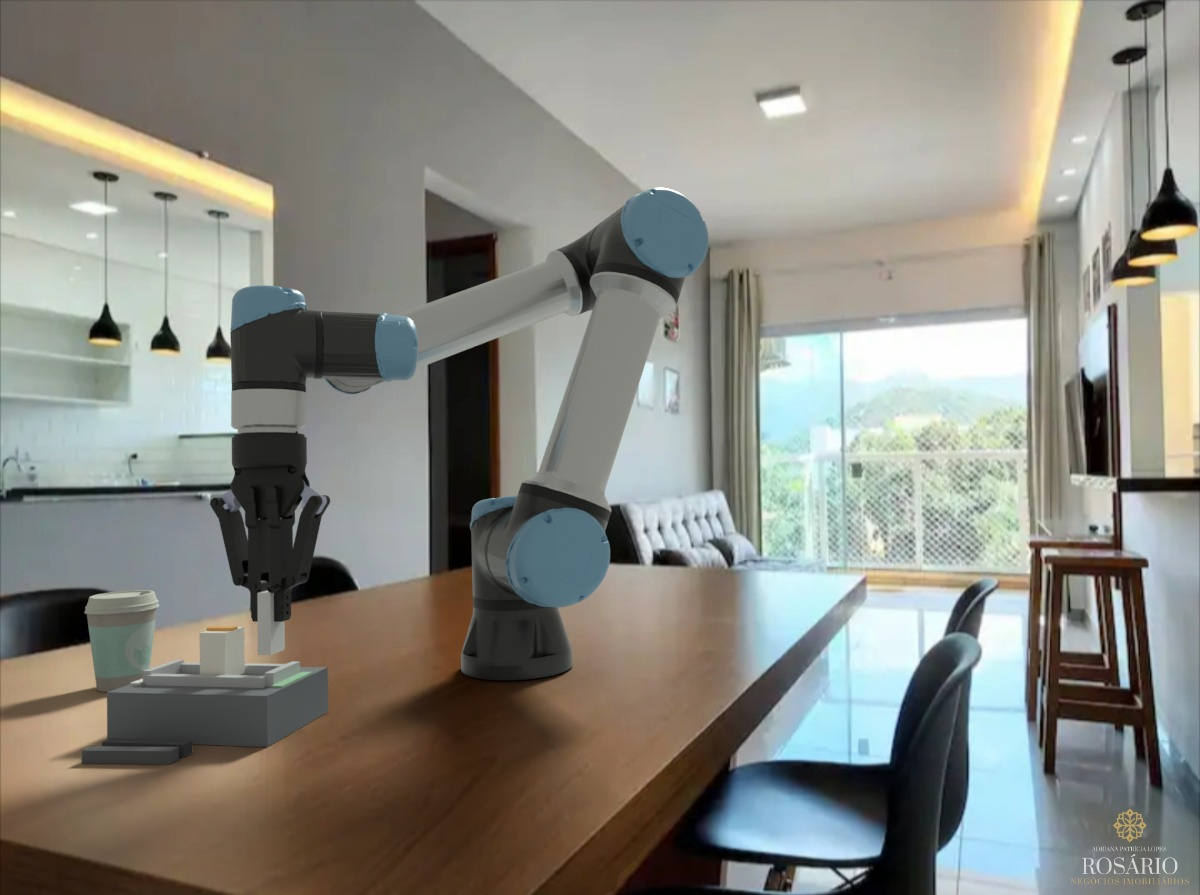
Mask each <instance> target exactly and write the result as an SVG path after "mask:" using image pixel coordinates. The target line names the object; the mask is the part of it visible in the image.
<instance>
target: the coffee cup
mask: <svg viewBox="0 0 1200 895" xmlns="http://www.w3.org/2000/svg"><path fill="white" fill-rule="evenodd" d="M158 607H160V604H159V599H157V595H156V593H155V590H154V591H153V590H144V589H143V590H142V589H141V590H122V591H112V592H111V591H110V592H104V593H98V594H94V595H91V596H89V597H88V601H87V604H86V606H85V607H84V609H85V610H84V612H83V613H84V614H85V615H86V618H87V625H88V626H87V627H88V633H89V642H90V648H91V650H90V651H91V656H92V663H93V671H94V677H95V678H94V679H95V685H96V690H97V691H99V692H102V693H107V692H109V691H112V690H115V689H118V688H121V687H124V686H126V685H129V684H130V683H131V682H134V681H137V680H140V679H143V671H144V670H147V669H150V668H151V663H152V654H153V644H154V636H155V627H156V620H157V610H158Z"/></svg>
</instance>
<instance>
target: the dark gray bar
mask: <svg viewBox="0 0 1200 895" xmlns="http://www.w3.org/2000/svg"><path fill="white" fill-rule="evenodd" d="M179 760H180V757H179V747H124V746H102V745H100V746H98V745H97V746H96V745H95V746H94V745H93V746H92V745H90V746H88V747H86V748H84V749H82V750H81V764H114V765H115V764H116V765H117V764H119V765H120V764H122V765H123V764H124V765H130V764H132V765H134V764H135V765H172V764H174V763H176V762H177V761H179Z"/></svg>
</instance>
